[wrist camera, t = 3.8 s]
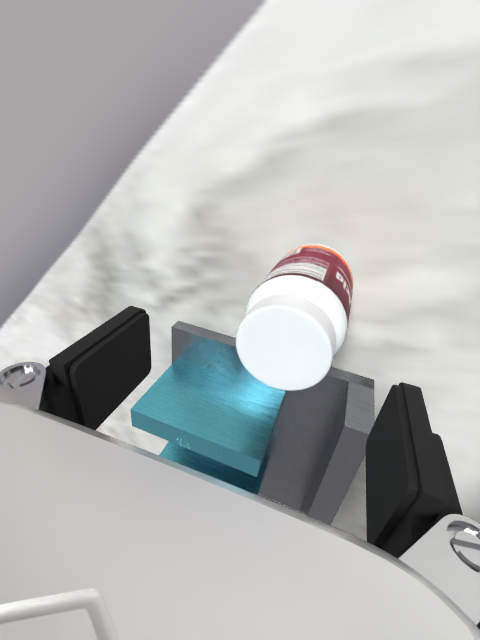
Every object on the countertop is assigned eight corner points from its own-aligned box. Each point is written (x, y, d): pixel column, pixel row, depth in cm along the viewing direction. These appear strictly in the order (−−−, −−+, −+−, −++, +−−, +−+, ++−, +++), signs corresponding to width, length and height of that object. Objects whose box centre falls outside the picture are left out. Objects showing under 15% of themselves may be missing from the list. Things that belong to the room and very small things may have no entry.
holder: (178, 321, 25) (119, 373, 19) (373, 379, 21) (374, 467, 15) (177, 448, 33) (137, 512, 27) (318, 507, 29) (305, 595, 24)
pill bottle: (351, 316, 20) (340, 407, 13) (277, 311, 21) (233, 389, 14) (357, 240, 17) (346, 301, 11) (274, 241, 19) (219, 295, 12)
